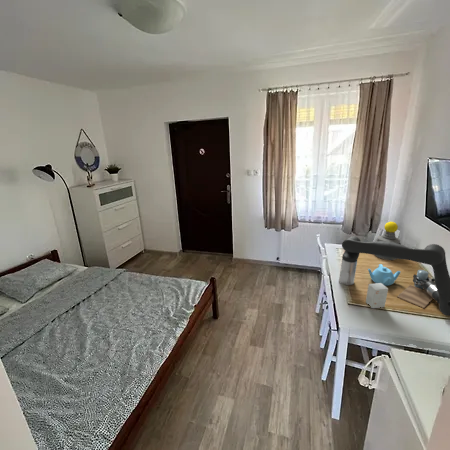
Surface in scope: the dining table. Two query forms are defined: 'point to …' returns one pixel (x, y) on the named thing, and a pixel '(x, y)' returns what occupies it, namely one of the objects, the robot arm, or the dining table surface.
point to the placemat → (415, 296)
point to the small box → (376, 295)
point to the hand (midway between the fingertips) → (419, 275)
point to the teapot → (383, 275)
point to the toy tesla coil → (389, 237)
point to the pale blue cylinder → (423, 275)
